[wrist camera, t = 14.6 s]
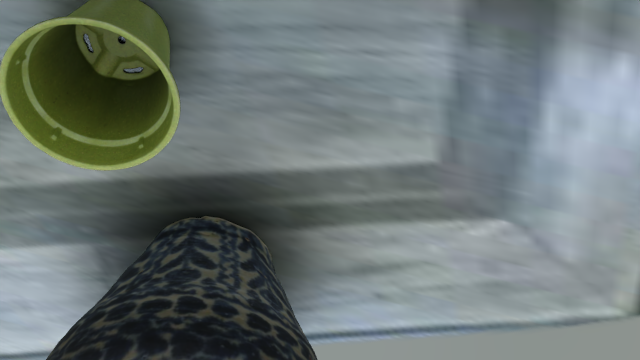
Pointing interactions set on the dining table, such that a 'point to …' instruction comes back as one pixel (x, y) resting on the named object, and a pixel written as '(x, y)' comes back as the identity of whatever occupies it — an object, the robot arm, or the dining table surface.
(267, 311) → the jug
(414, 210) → the dining table surface
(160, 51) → the plant pot
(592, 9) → the dining table surface
